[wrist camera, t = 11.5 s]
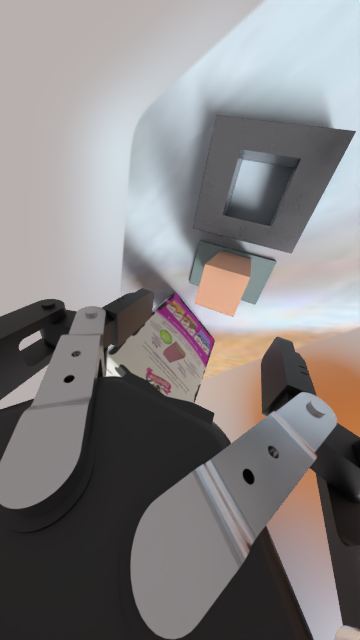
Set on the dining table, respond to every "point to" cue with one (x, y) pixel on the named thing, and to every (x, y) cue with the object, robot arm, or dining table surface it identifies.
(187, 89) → the dining table surface
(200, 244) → the mat
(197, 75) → the dining table surface
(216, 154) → the grey socket frame
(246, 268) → the plug
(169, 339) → the candy bar box
